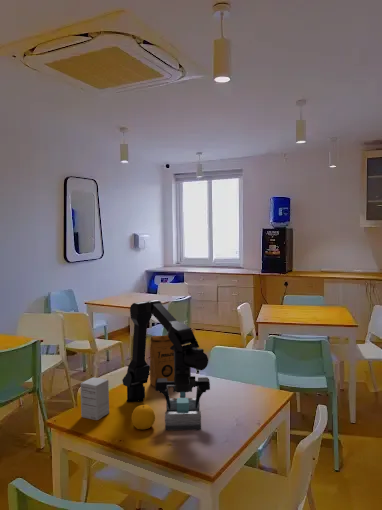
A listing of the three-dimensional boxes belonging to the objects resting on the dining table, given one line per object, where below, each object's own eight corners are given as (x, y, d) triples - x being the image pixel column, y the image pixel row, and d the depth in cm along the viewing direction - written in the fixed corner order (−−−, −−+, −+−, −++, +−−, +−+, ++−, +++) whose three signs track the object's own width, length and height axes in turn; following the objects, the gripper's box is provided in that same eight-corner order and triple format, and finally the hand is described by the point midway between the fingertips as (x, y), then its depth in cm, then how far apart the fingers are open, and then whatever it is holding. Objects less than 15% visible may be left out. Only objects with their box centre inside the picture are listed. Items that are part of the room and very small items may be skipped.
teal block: (177, 414, 152) (176, 397, 152) (188, 414, 152) (188, 397, 152) (177, 420, 147) (176, 403, 147) (188, 420, 147) (188, 402, 147)
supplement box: (93, 410, 161) (93, 376, 161) (109, 413, 158) (109, 379, 157) (80, 417, 154) (79, 382, 154) (97, 420, 151) (96, 385, 151)
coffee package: (181, 386, 186) (180, 336, 185) (152, 390, 182) (151, 338, 182) (175, 379, 195) (175, 331, 194) (148, 382, 192) (147, 333, 191)
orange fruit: (151, 421, 150) (151, 399, 150) (158, 430, 143) (157, 407, 143) (129, 424, 148) (129, 403, 148) (134, 434, 140) (134, 411, 140)
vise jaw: (166, 410, 156) (166, 390, 155) (167, 403, 162) (166, 384, 161) (199, 409, 156) (199, 389, 156) (198, 403, 162) (198, 384, 162)
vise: (165, 430, 143) (165, 415, 143) (167, 409, 161) (166, 396, 161) (201, 429, 143) (201, 414, 143) (198, 408, 161) (198, 395, 161)
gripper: (154, 371, 140) (154, 418, 141) (210, 370, 141) (211, 417, 141) (155, 362, 152) (156, 405, 152) (208, 361, 152) (209, 404, 153)
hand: (182, 408), depth 149 cm, fingers open, 9 cm apart
